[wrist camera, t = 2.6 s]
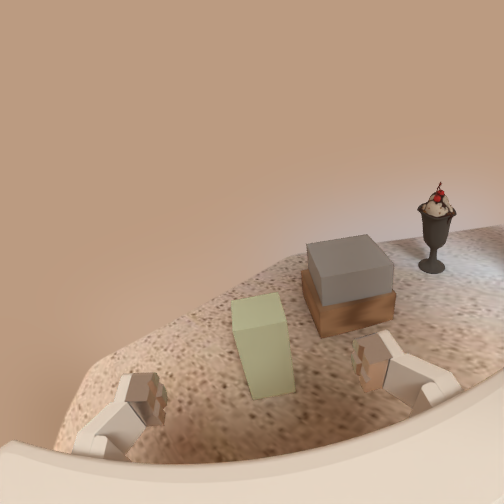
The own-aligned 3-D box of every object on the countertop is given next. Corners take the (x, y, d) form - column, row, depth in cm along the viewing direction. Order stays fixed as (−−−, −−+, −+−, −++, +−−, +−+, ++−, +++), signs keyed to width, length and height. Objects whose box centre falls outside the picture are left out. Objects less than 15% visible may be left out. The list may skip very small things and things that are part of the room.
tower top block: (367, 259, 41) (367, 234, 39) (391, 292, 33) (394, 264, 31) (308, 269, 41) (306, 244, 40) (322, 306, 33) (321, 277, 32)
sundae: (429, 281, 39) (437, 186, 33) (406, 262, 45) (409, 176, 39) (456, 270, 40) (466, 182, 33) (433, 254, 46) (438, 172, 39)
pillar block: (288, 362, 32) (277, 291, 27) (295, 392, 28) (286, 321, 23) (249, 369, 32) (231, 300, 27) (253, 400, 28) (232, 331, 23)
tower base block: (364, 282, 43) (364, 257, 41) (392, 321, 34) (396, 293, 32) (303, 296, 43) (301, 270, 41) (321, 340, 34) (320, 312, 32)
